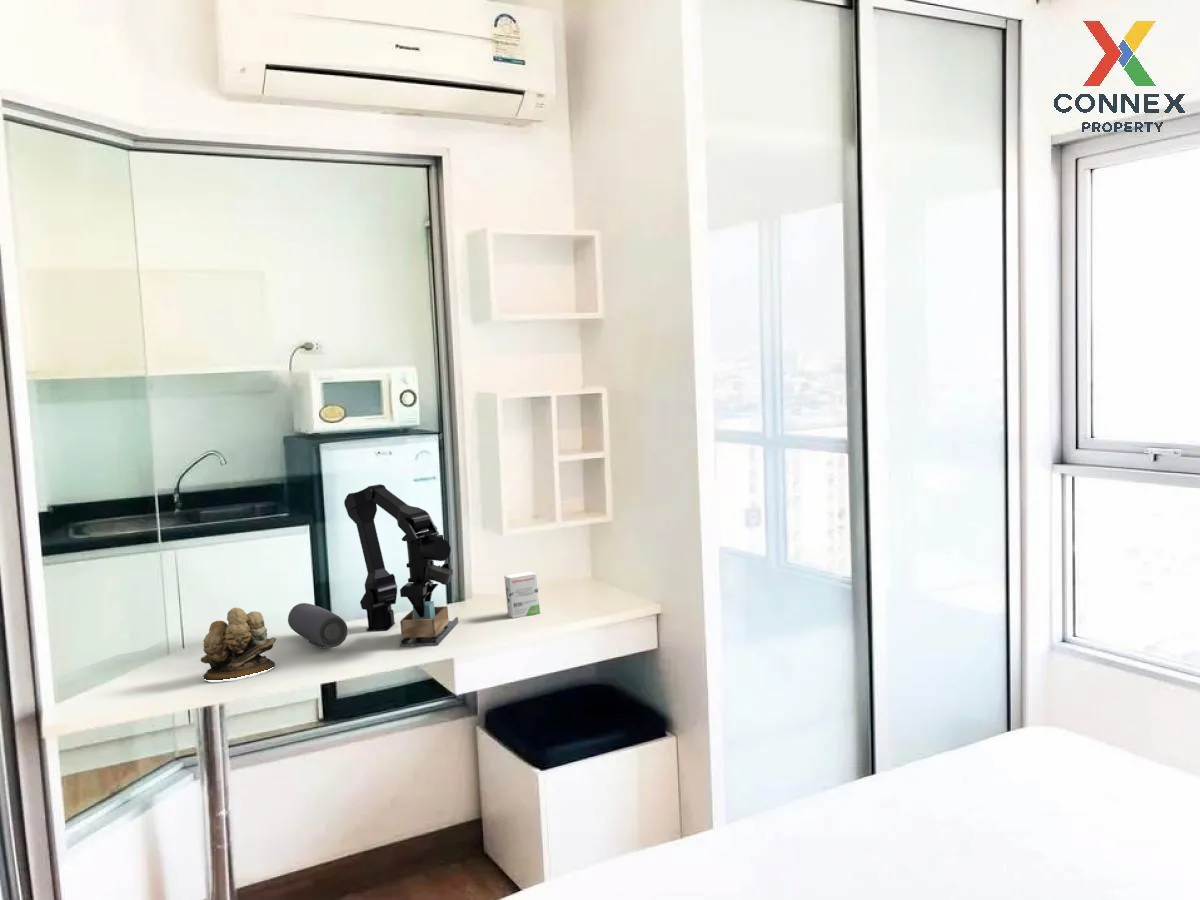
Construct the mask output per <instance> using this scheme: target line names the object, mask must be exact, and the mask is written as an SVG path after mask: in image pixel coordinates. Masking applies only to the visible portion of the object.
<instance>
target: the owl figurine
mask: <svg viewBox="0 0 1200 900" xmlns="http://www.w3.org/2000/svg"><path fill="white" fill-rule="evenodd" d="M226 615H227V616H226V620H227V622H228V623H227V622H225V621H224V620H215V621H213V622H211V624H210V626H209V629H208V633H207V634H206V635H205V637H204V638H203V652H204V653H205V655H204V656H202V657H201V658H200V662H201V663H203V664H209V667H210V668H208V669H207V670H206V673H204V675H203V677H204V678H203V680H204V679H206V680H223V679H230V678H237V677H241V676H245V675H250V674H253V673H258V672H261V671H264V670H268V669H270V668H272V667H274V666H275V665H276V663H275V662H274V661H273V660H272V659H270V658H267V656H266V655H261V654H263V653H266V652H268V651H270V650H272V649H273V648H274V644H275V643H276V640H277V638H276V637H275V636H274V637H270V638H268V628H266V626H265V625H266V624H265V620H264V616H263V614H262V613H261V612H259V611H254V610H253V611H249V612H248V613H247V612H245V610H244V609H242V608H241V607H232V608H231V609H230V610H228V612H227V614H226ZM274 668H275V667H274Z"/></svg>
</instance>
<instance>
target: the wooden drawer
mask: <svg viewBox="0 0 1200 900" xmlns="http://www.w3.org/2000/svg"><path fill="white" fill-rule="evenodd" d="M434 609H435V617H434V618H433V619H421V620H414V612H413V609H411V611H410V612H408V614H406V615H405V616H404V617H403V618H402V619H401V620H400V621H399V624H400V634H401V639H402V638H404V641H409V639H410V638H413V637H432V640H434V639H436V638H437V635H438V633H439V632H440V631H441V630H442V629H445V628H446V627H447V624H448V623H449V621H450V619H449V611H448V610H449V609H448V606H447V605H445V606H444V605H443V606H442V605H441V606H434Z"/></svg>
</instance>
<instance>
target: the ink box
mask: <svg viewBox="0 0 1200 900" xmlns="http://www.w3.org/2000/svg"><path fill="white" fill-rule="evenodd" d="M504 585H505V586H504V587H505V597H506V598H505V599H506V606H507V607H506V609H507V615H508V616H509V617H510V618H512V619H517V618H521V617H522V616H523V617H527V616H534V615H538V614H541V610H540V609H541V606H540V596H539V594H540V593H539V587H538V585H539V584H538V573H535V572H534V571H525V572H520V573H513V574H508V575H504ZM516 617H517V618H516Z"/></svg>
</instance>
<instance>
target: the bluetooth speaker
mask: <svg viewBox="0 0 1200 900" xmlns="http://www.w3.org/2000/svg"><path fill="white" fill-rule="evenodd" d="M287 617H288V618H287V623H288V626H289V627H290V629H291V630H292V631H294V632H295V633H296V634H298V635H299V636H300V637H302V638H303V639H304V640H307V641H308V643H309V644H311V645H313V646H314V645H315V646H314V647H316V646H317V648H319V647H321V648H320V649H324V648H323V647H325V648H336V647H338V646H340V645H342V644H343V643H344V642H345V640H346V639H347V636H348V632H349V631H348V630H349V629H348V624H347V622H345V620H344V618H342V617H340V616H339V615H337V614H336V613H334V612H332V611H330V610H328V609H326V608H323V607H320V606H318V605H315V604H312V603H306V602H302V603H301V602H300V603H298V604H296V605H294V606H293V607H292V608H291V610H290V611H289V613H288V616H287Z"/></svg>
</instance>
